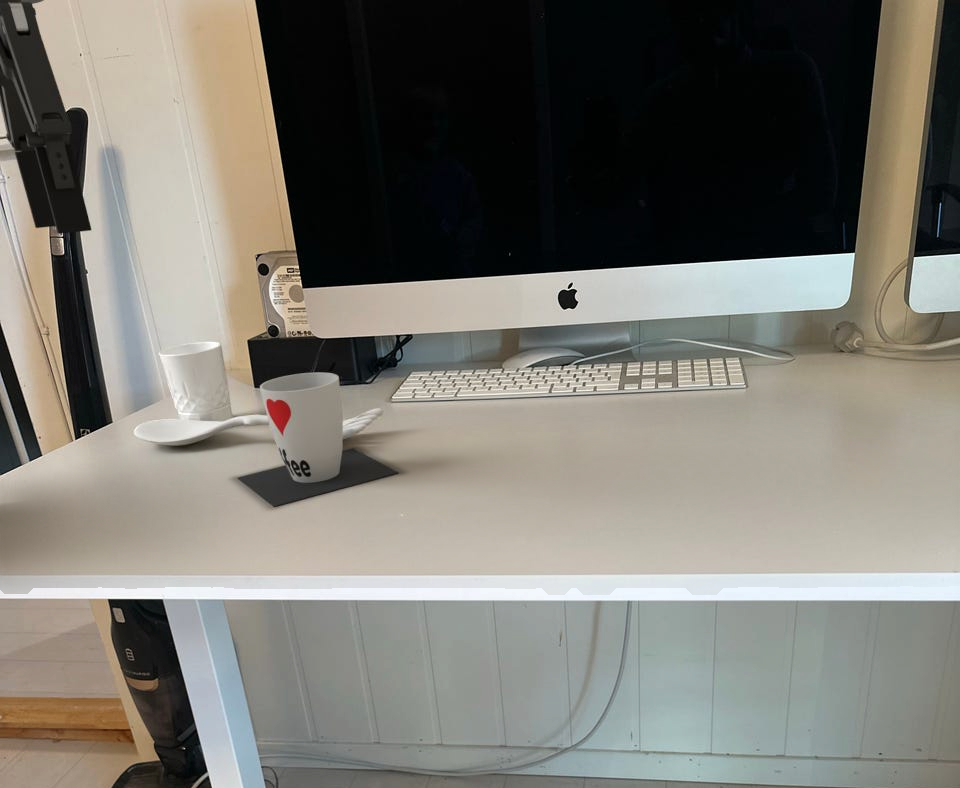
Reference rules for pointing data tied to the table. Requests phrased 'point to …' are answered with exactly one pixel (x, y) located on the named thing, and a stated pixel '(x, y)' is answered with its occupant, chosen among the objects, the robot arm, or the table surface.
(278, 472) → the mat
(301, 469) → the cup
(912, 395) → the table surface
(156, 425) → the spoon
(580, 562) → the table surface
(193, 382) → the white cup
